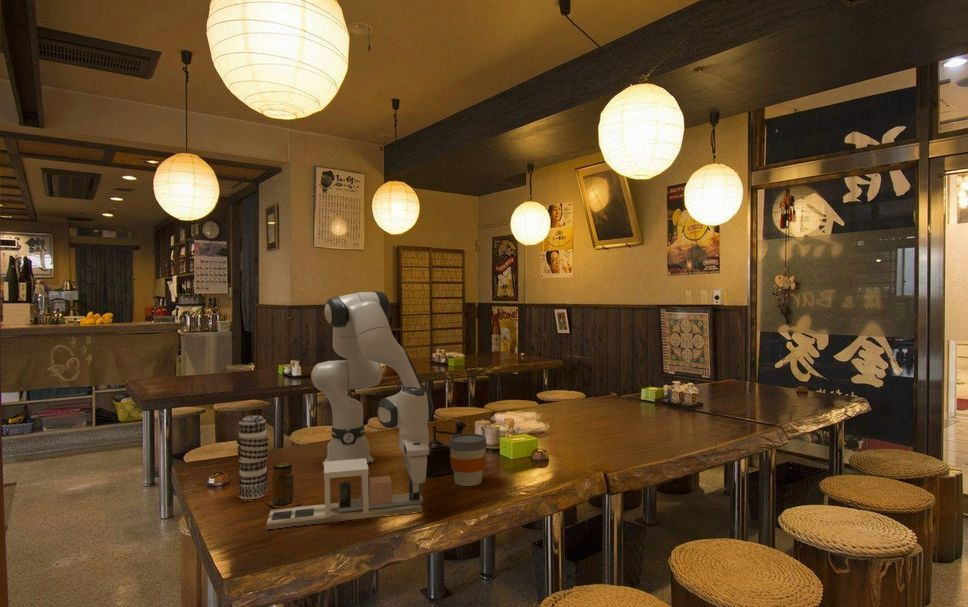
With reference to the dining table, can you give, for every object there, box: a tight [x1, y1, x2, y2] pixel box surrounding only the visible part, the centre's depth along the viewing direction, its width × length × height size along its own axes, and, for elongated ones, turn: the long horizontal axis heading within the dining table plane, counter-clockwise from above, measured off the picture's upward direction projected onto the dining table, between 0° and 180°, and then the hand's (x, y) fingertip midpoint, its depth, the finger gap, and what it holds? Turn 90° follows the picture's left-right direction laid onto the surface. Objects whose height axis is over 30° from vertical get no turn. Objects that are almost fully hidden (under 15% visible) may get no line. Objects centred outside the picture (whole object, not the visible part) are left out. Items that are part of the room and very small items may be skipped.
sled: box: [337, 475, 424, 512], centre depth 162 cm, size 7×24×7 cm, turn 105°
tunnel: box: [323, 458, 370, 518], centre depth 159 cm, size 11×12×12 cm
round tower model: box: [236, 414, 269, 500], centre depth 175 cm, size 9×9×25 cm
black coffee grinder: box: [426, 420, 467, 478], centre depth 198 cm, size 16×11×18 cm
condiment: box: [271, 462, 295, 506], centre depth 167 cm, size 7×8×12 cm
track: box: [265, 502, 423, 531], centre depth 159 cm, size 11×42×2 cm, turn 105°
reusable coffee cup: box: [448, 433, 487, 486], centre depth 185 cm, size 13×12×15 cm
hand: (414, 489), depth 164 cm, fingers closed on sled, 3 cm apart
